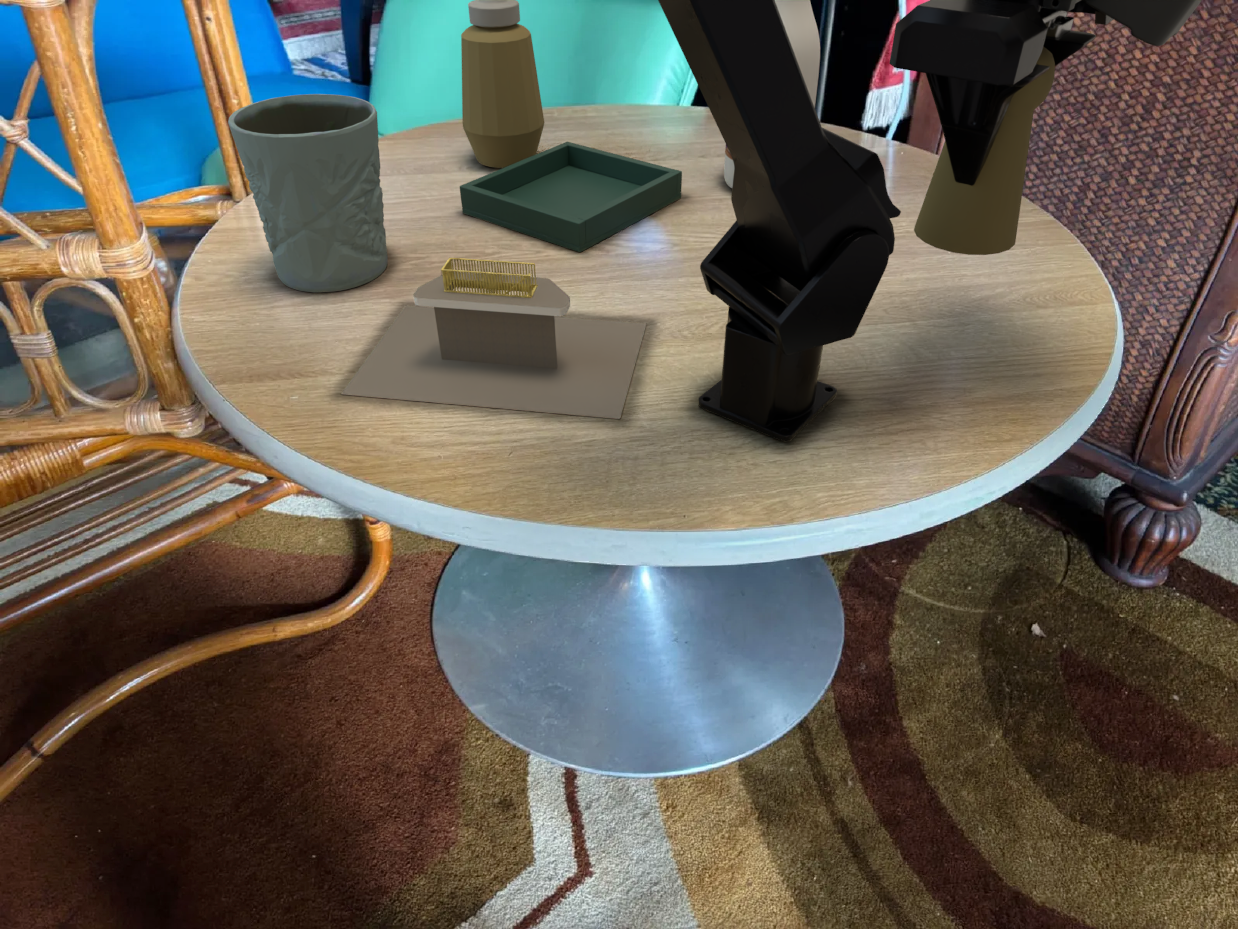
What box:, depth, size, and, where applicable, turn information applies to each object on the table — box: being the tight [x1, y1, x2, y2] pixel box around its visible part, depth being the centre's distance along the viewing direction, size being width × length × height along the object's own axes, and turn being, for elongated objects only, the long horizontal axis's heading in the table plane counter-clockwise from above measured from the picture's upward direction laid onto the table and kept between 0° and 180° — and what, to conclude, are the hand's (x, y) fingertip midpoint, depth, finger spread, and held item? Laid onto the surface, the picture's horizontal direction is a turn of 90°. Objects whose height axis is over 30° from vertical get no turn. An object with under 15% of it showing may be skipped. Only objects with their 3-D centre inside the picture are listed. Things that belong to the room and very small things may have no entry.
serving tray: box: [459, 141, 683, 253], centre depth 80 cm, size 15×14×2 cm
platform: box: [340, 257, 647, 420], centre depth 58 cm, size 12×18×7 cm, turn 81°
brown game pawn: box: [913, 46, 1056, 256], centre depth 52 cm, size 6×6×11 cm
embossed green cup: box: [227, 93, 389, 293], centre depth 68 cm, size 10×10×12 cm
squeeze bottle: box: [460, 0, 545, 169], centre depth 85 cm, size 8×8×18 cm
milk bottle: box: [723, 0, 821, 189], centre depth 79 cm, size 8×8×20 cm
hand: (979, 172), depth 53 cm, fingers closed on brown game pawn, 4 cm apart
